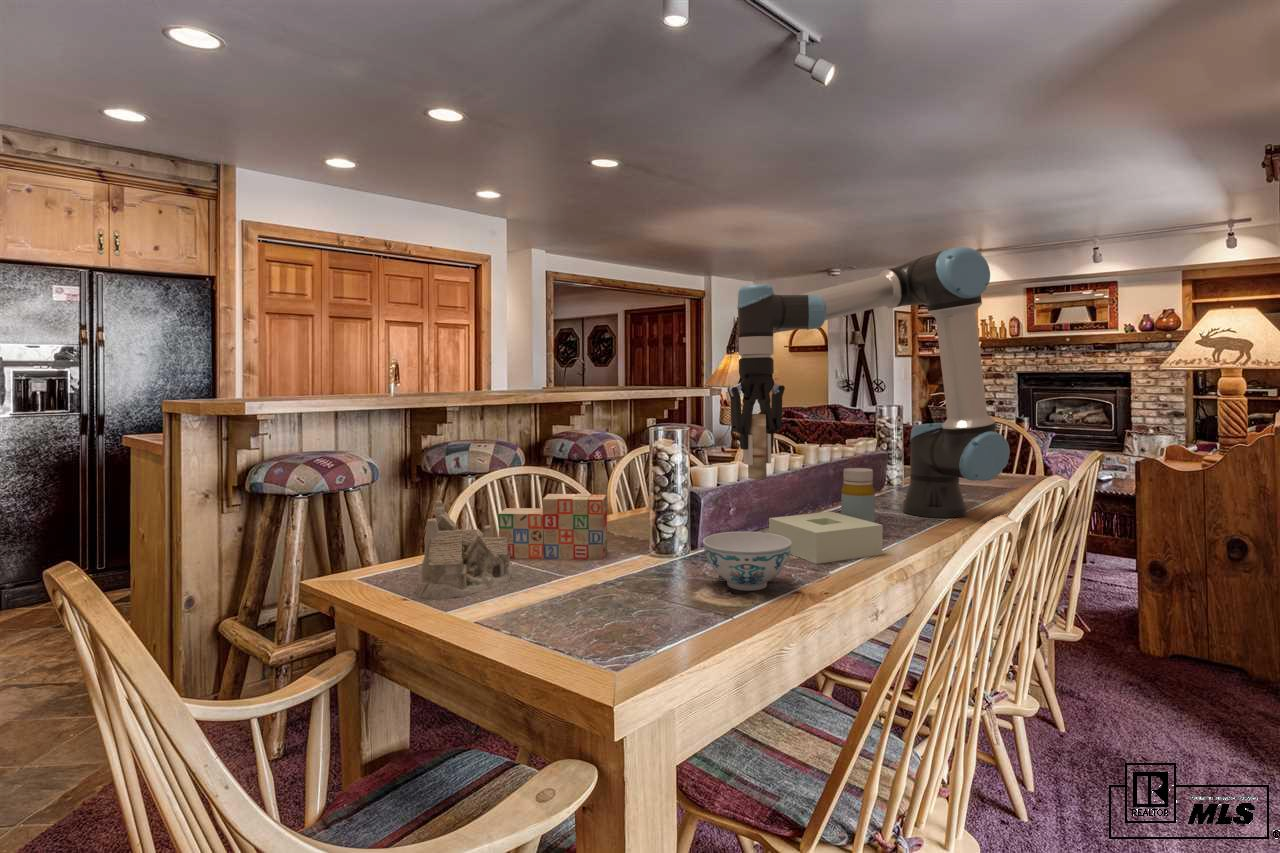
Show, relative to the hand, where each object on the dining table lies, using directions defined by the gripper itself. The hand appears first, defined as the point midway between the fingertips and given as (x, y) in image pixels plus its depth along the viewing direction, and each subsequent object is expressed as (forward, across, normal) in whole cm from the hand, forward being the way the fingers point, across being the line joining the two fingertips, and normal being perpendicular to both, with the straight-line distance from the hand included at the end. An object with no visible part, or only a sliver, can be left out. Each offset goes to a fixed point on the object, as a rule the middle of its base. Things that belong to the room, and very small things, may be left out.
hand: (757, 463), depth 158 cm
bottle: (+17, -20, +9) cm, 28 cm away
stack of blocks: (+17, +45, -5) cm, 49 cm away
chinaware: (+17, +21, +30) cm, 40 cm away
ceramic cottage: (+16, +66, +8) cm, 68 cm away
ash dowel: (+3, 0, 0) cm, 3 cm away
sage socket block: (+17, -6, +16) cm, 24 cm away
